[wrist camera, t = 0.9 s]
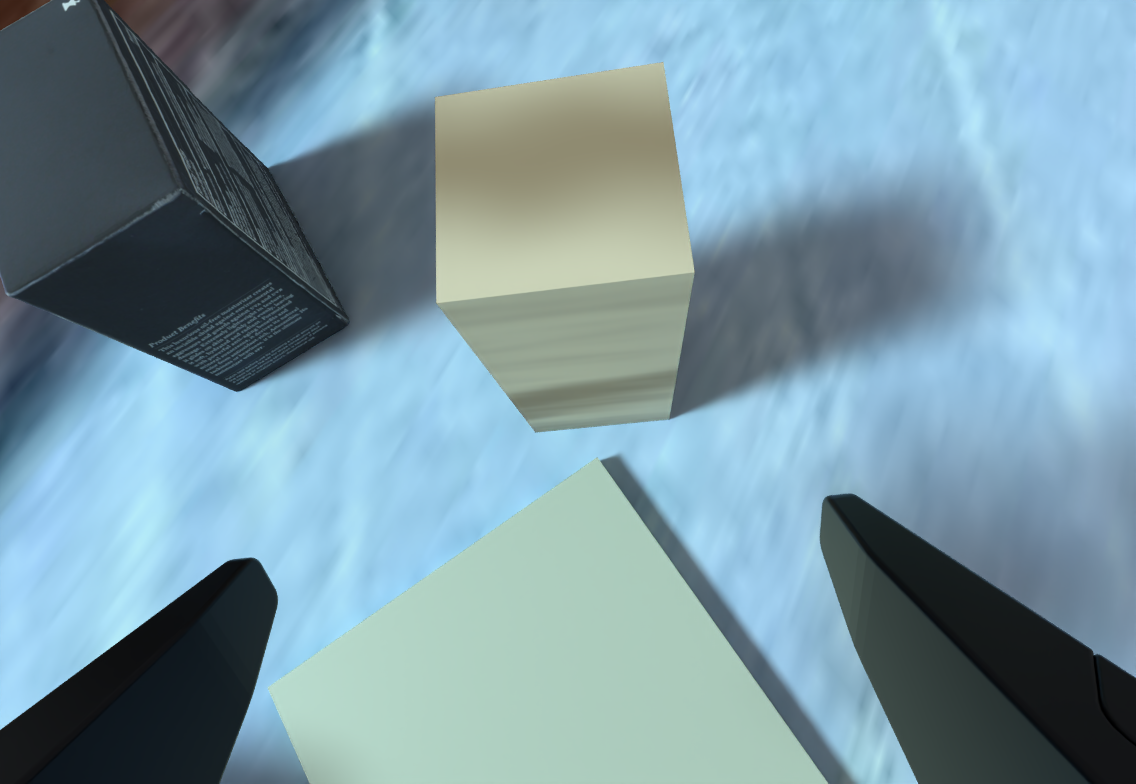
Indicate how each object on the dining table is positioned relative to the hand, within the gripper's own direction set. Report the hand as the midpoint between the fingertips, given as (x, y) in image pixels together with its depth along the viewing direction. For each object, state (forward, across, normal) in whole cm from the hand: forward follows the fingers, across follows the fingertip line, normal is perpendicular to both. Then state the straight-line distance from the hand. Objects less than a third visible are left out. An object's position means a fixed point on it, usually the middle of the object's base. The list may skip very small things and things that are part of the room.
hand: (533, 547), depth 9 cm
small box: (+21, +15, +1) cm, 26 cm away
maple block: (+16, -1, +5) cm, 16 cm away
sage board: (+4, +2, +16) cm, 16 cm away
